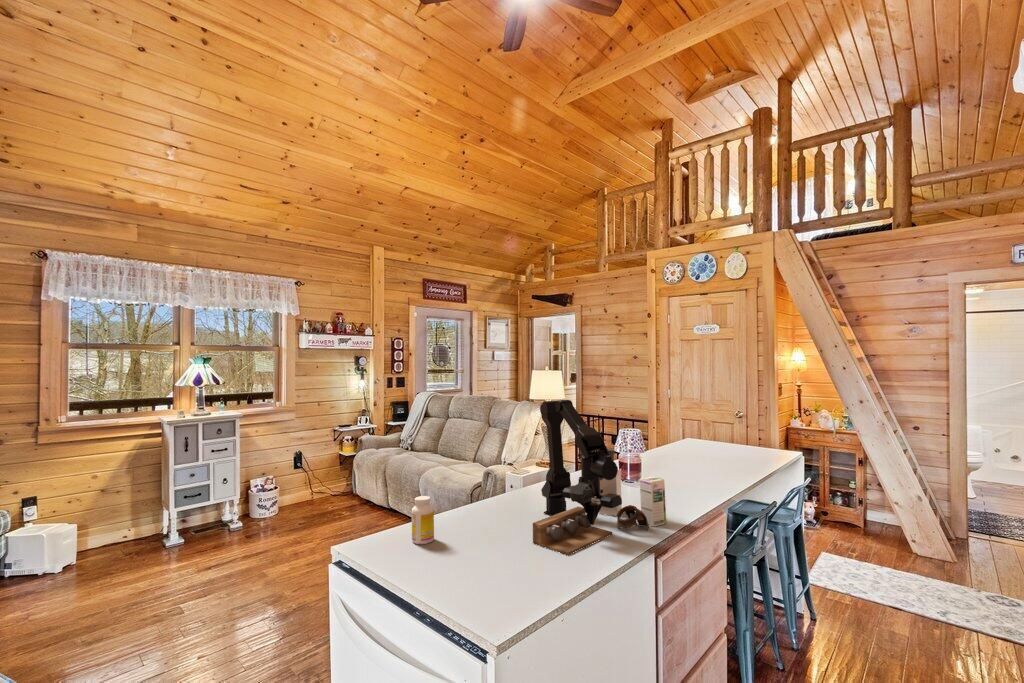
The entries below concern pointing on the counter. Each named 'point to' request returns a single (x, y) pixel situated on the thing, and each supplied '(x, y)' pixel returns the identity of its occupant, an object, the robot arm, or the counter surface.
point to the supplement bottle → (422, 521)
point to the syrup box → (653, 500)
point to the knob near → (555, 532)
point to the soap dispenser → (611, 489)
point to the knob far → (583, 520)
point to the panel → (566, 533)
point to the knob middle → (570, 526)
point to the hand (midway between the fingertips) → (592, 524)
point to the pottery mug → (631, 517)
